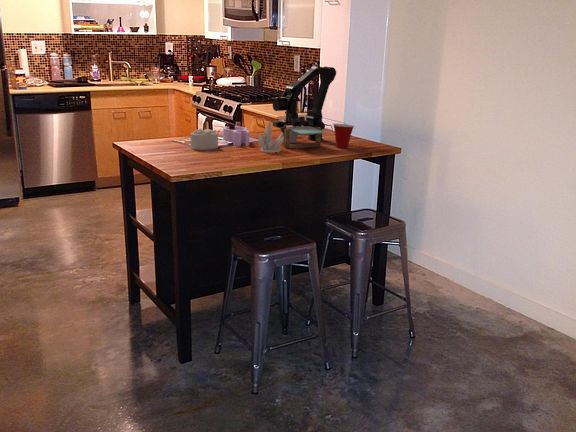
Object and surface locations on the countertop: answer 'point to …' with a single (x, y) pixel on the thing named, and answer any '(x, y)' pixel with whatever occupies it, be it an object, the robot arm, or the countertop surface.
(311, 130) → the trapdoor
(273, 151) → the crystal
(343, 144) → the plastic cup
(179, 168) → the countertop surface
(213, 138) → the lumpy-topped squat cylinder
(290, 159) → the countertop surface
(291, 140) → the stone
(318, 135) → the frame
